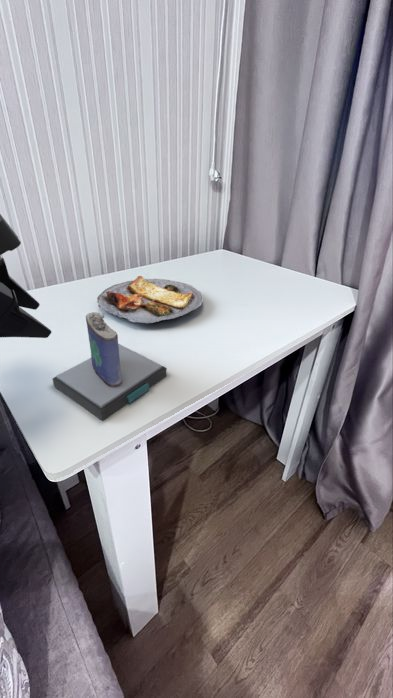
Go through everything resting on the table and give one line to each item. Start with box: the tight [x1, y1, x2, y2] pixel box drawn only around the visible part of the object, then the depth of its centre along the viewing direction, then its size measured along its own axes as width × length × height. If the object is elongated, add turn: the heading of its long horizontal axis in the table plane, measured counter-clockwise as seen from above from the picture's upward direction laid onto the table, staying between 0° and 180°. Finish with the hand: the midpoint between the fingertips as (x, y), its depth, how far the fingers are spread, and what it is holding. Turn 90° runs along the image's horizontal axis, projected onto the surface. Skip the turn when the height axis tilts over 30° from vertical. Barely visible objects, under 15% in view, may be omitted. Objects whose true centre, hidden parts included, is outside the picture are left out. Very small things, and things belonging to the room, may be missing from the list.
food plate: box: [96, 275, 204, 324], centre depth 81 cm, size 25×23×4 cm
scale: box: [52, 343, 167, 422], centre depth 55 cm, size 14×12×2 cm
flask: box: [85, 311, 122, 387], centre depth 51 cm, size 9×3×11 cm, turn 34°
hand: (43, 319), depth 47 cm, fingers open, 9 cm apart
